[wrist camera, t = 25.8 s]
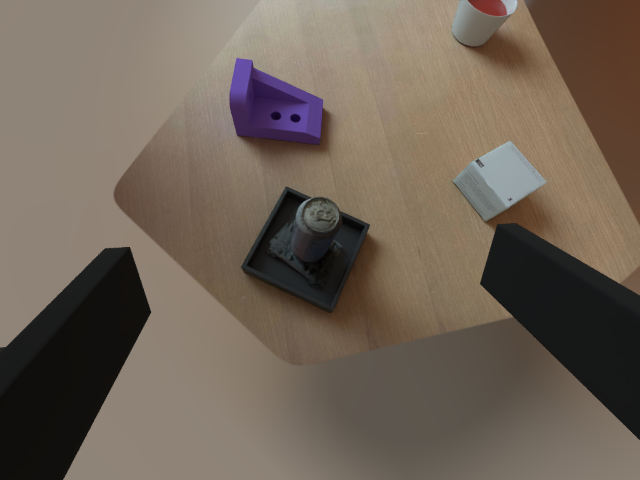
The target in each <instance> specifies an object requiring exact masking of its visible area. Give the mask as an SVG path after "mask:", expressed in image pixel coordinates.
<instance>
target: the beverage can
mask: <svg viewBox="0 0 640 480" xmlns="http://www.w3.org/2000/svg"><path fill="white" fill-rule="evenodd" d="M287 224H288V223H287ZM287 224H286V225H285V226H284V227H283V228H282V229H281V230H280V232H279V234H278V233H277V235H276V237H277V239H275V238H274V237H275V236H274V237H273V238H274V239H273V238H272V240H271V241H270V242H269V243H271V244H272V245H270V249H269V248H266V246H265V248H266V252H268V254H269V255H271V256H273V257H274V258H281V259H282V260H283V261H285V262H286V263H288V264H289V265H290V266H291V267H292V268H294V269H295V270H297V271H298V272H299V273H301V274H302V275H303V276H305V277H306V278H307V280H306V282H307V283H308V284H310V285H311V286H312V287H316V285H315V284H316V283H319V284H320V285H321V286H322V287H323V288H324V285H327V281H329V280H328V278H329V276H330V274H329V273H328V272H327V271H325V270H326V268H327V269H328V270H331V269H332V268H333V267H334V265H333V264H334V263H336V262H334V261H335V260H336V259H337V258H338V257H337V256H338V255H339V253H340V251H341V247H343V246H341V245H340V243H339V242H336V241H335V240H334V238H335V236H336V235H337V233H338V231H339V230H340V227H341V224H342V216H341V212H340V210H339V208H338V207H337V205H336V204H335V203H334V202H332V201H331V200H329V199H327V198H323V197H313V198H310V199H308V200H306V201H304V202H303V203H302V204H301V205H300V207H299V208H298V211H297V214H296V218H295V220H293V221H292V222H291V223H290V224H289V225H287ZM286 226H287V227H286ZM330 264H332V265H333V266H332V265H331V266H330ZM329 266H330V268H329ZM332 270H333V269H332ZM330 272H331V271H330Z"/></svg>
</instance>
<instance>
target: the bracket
mask: <svg viewBox="0 0 640 480" xmlns="http://www.w3.org/2000/svg"><path fill="white" fill-rule="evenodd" d="M322 109H323V99H320V98H318V97H316V96H314V95H312V94H310V93H307V92H305V91H303V90H301V89H299V88H296V87H294V86H292V85H290V84H288V83H286V82H283V81H281V80H279V79H277V78H275V77H272V76H270V75H268V74H266V73H264V72H262V71H259V70H257V69H255V68H253V61H252V60H246V59H239V58H237V59H236V64H235V69H234V74H233V79H232V84H231V89H230V110H231V114H232V117H233V121H234V125H235V129H236V133H237V135H240V136H248V137H257V138H266V139H274V140H283V141H291V142H300V143H308V144H317V145H319V142H320V134H321V121H322Z"/></svg>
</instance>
